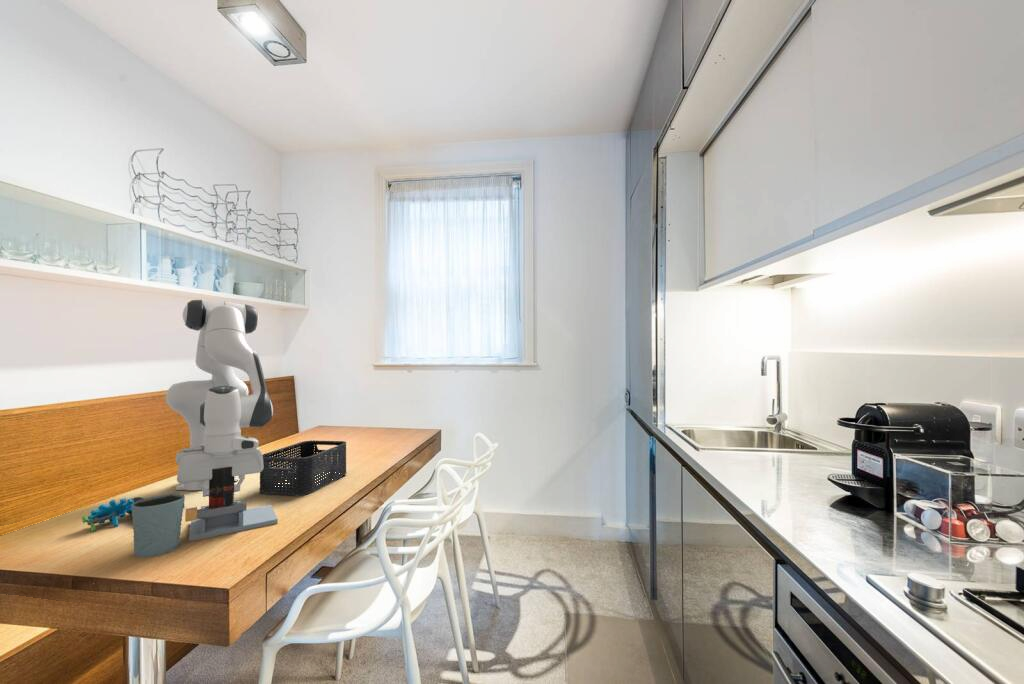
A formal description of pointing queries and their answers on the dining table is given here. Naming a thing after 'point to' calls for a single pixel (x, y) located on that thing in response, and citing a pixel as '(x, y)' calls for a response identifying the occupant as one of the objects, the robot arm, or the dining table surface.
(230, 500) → the deodorant
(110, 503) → the blue green toy
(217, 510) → the latch bar
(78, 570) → the dining table surface
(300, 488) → the storage bin
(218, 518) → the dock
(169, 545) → the embossed plant pot
